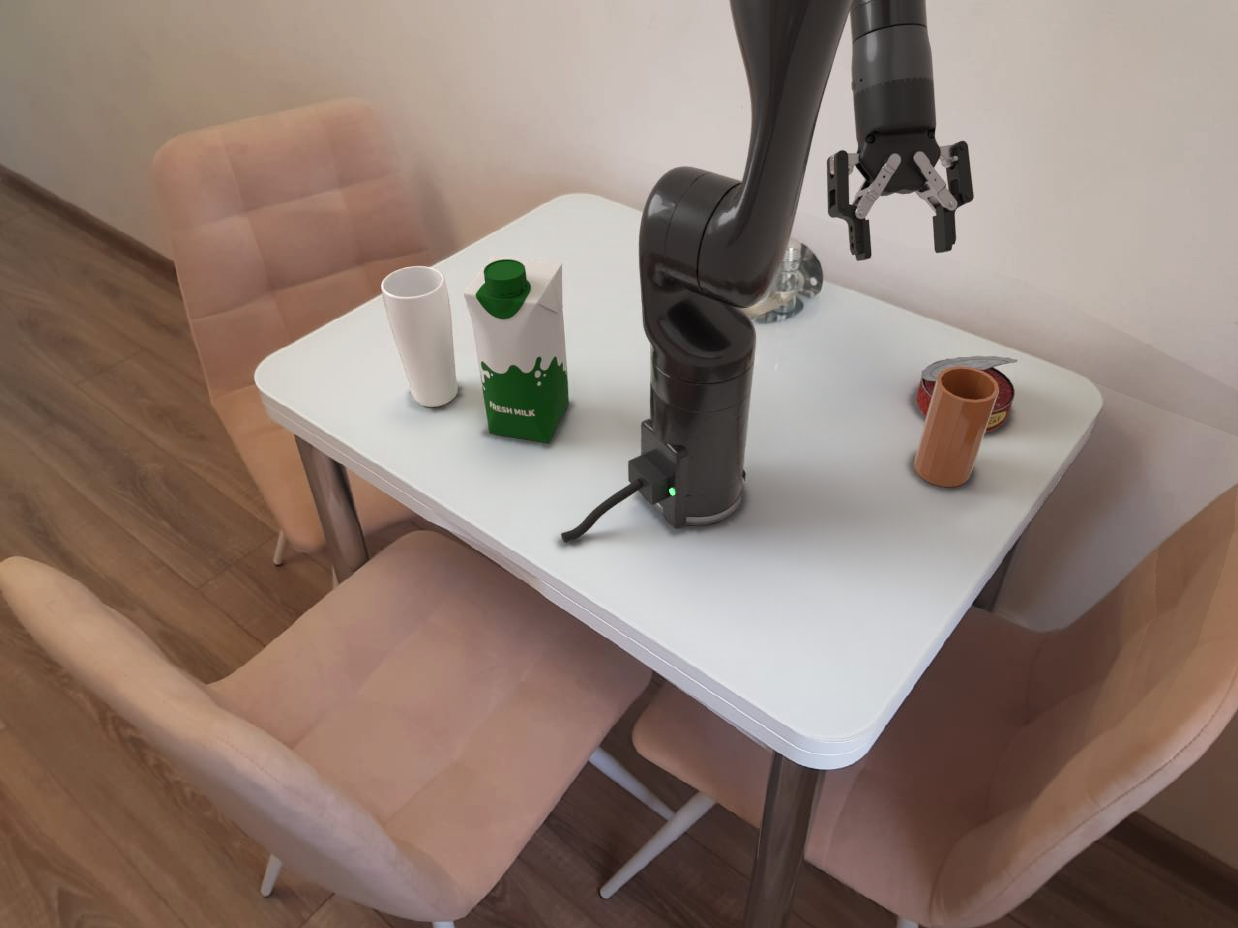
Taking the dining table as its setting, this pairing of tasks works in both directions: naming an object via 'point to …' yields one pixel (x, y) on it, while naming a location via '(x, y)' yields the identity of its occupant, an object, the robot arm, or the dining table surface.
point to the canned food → (976, 362)
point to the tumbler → (955, 425)
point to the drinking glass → (422, 332)
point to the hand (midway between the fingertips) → (904, 255)
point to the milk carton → (520, 345)
